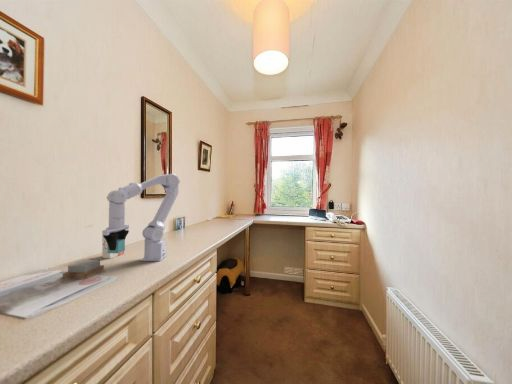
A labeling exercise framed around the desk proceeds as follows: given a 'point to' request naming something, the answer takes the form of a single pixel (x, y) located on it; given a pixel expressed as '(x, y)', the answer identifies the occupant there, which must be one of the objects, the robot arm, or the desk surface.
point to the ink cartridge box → (105, 250)
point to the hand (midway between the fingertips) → (116, 248)
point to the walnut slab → (83, 275)
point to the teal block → (118, 246)
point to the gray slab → (84, 266)
